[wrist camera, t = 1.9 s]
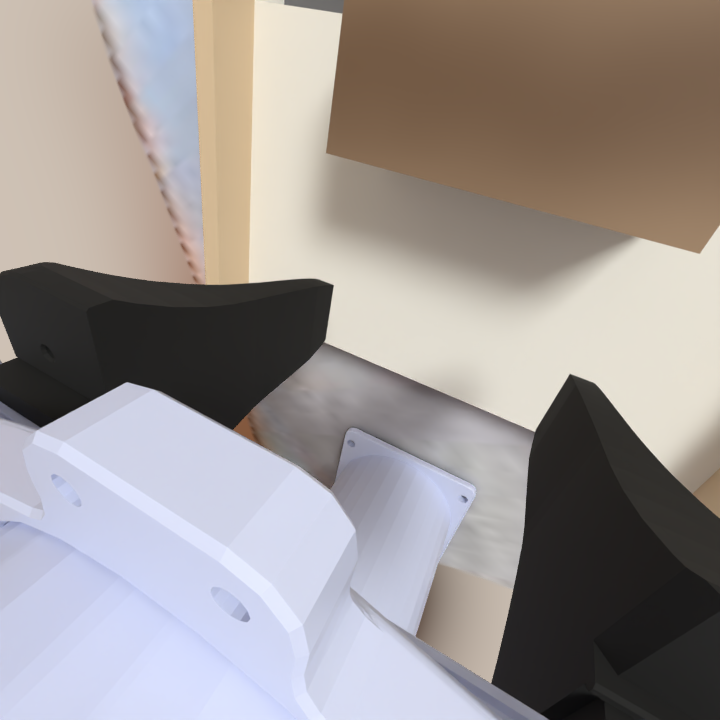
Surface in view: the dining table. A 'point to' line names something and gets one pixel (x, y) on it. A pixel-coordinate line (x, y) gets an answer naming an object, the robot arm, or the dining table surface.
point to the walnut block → (542, 105)
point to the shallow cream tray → (444, 254)
